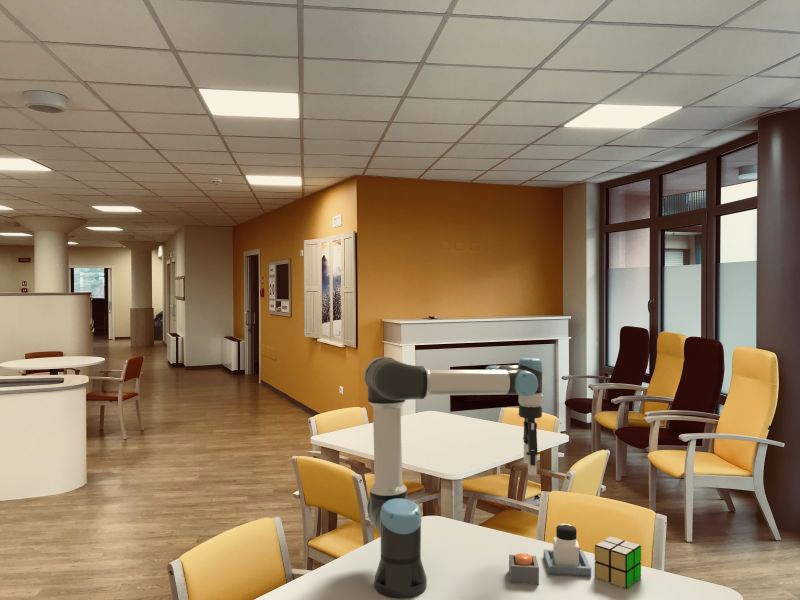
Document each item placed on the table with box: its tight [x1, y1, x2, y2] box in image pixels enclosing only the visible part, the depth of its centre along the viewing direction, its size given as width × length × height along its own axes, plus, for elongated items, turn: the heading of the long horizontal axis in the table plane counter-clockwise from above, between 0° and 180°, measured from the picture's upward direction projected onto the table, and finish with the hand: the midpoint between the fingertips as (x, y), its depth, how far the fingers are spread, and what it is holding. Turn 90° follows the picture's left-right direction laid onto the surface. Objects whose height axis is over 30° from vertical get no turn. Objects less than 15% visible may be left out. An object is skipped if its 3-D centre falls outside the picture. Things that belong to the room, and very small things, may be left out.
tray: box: [543, 549, 592, 578], centre depth 190 cm, size 12×12×2 cm
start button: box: [514, 553, 533, 566], centre depth 182 cm, size 5×5×2 cm
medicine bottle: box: [552, 523, 581, 566], centre depth 190 cm, size 7×7×12 cm
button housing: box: [508, 554, 540, 586], centre depth 182 cm, size 8×8×5 cm
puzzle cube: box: [594, 536, 642, 589], centre depth 182 cm, size 10×10×10 cm
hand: (530, 468), depth 203 cm, fingers open, 13 cm apart
